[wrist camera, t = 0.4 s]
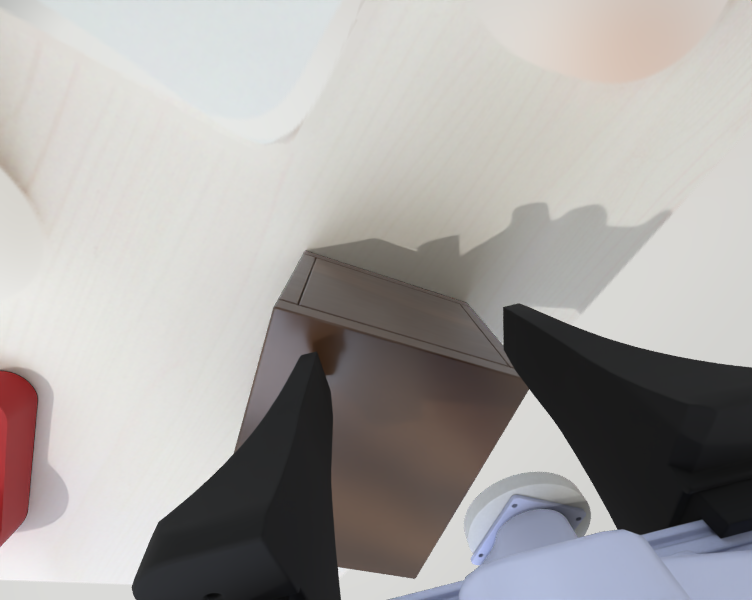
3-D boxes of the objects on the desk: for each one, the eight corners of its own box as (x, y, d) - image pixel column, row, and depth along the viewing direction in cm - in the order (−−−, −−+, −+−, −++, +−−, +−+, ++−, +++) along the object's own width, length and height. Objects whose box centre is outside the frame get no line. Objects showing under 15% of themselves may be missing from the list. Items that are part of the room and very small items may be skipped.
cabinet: (395, 451, 27) (415, 579, 19) (255, 420, 25) (207, 548, 17) (466, 302, 23) (534, 381, 14) (304, 250, 21) (273, 306, 12)
